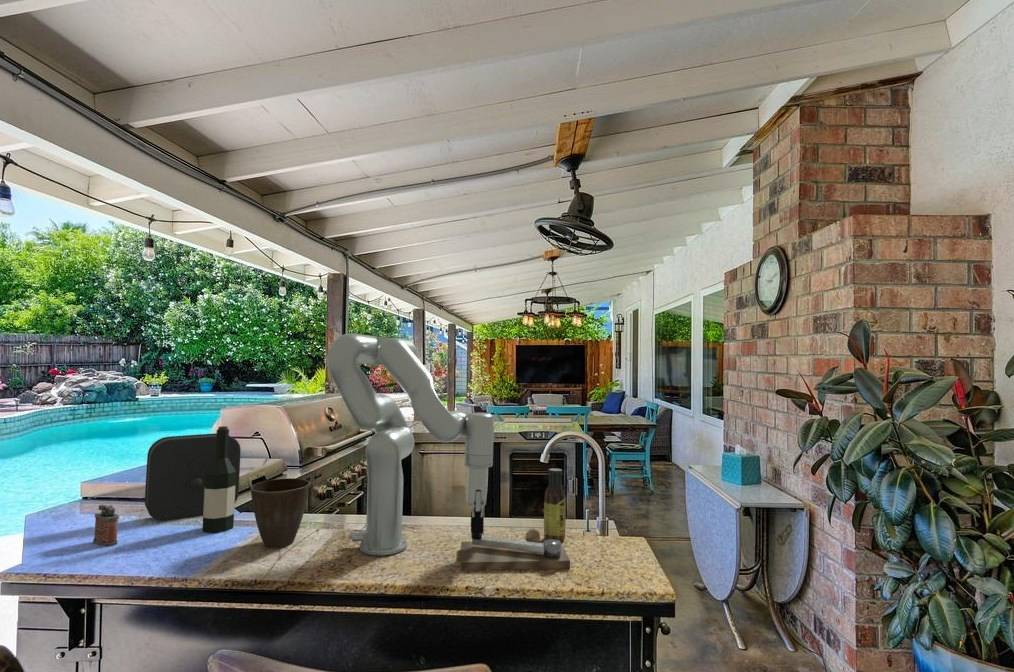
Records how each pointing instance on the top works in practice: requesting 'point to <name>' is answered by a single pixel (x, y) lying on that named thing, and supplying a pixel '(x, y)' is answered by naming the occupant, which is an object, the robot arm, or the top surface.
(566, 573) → the top surface
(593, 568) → the top surface
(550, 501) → the sauce bottle
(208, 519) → the wine bottle
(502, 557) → the board
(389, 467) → the robot arm
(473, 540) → the lever
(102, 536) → the lighter
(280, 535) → the plant pot
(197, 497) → the speaker
